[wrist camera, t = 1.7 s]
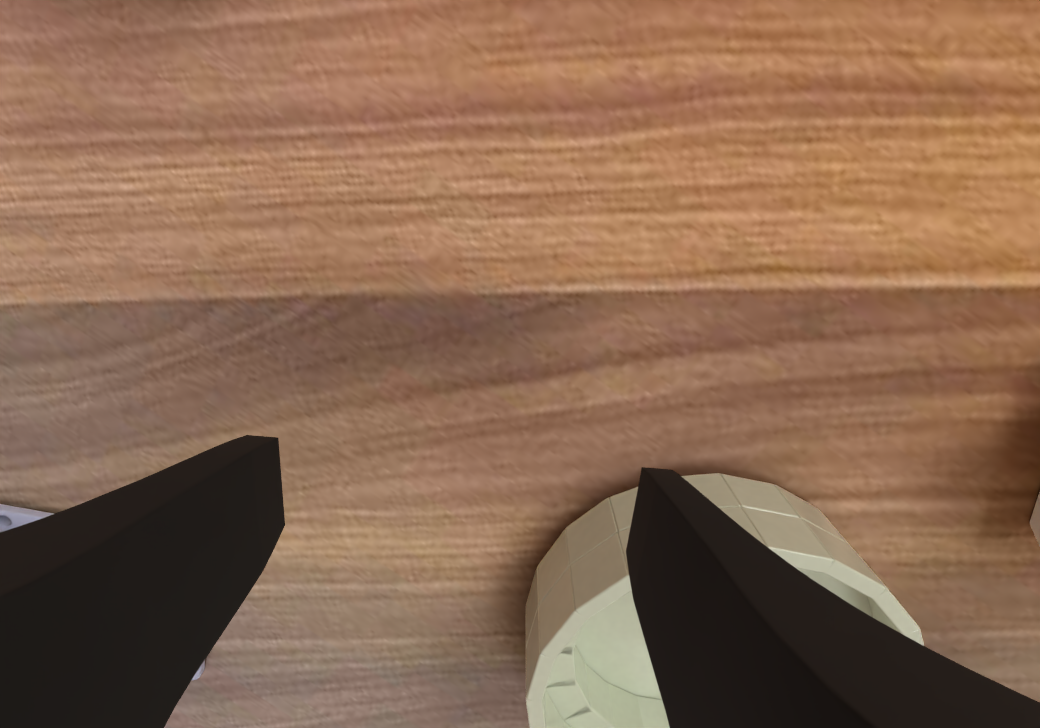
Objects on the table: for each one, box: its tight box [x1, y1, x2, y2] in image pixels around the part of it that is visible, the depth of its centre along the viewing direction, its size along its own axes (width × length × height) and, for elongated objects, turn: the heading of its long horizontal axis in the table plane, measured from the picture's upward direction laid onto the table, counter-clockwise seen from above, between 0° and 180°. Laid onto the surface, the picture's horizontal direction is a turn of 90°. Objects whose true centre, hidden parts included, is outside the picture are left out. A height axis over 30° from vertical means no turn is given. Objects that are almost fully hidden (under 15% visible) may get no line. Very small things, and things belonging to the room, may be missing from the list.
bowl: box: [525, 473, 924, 728], centre depth 21 cm, size 14×14×5 cm
